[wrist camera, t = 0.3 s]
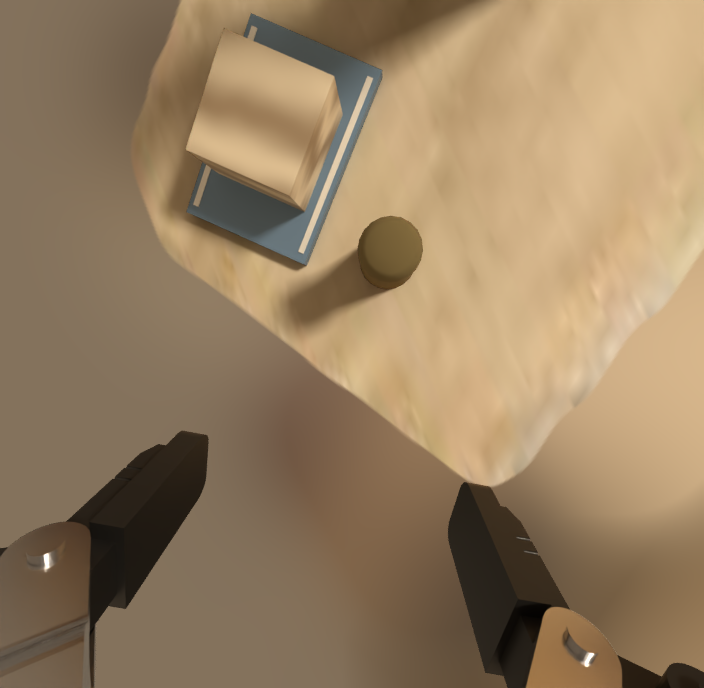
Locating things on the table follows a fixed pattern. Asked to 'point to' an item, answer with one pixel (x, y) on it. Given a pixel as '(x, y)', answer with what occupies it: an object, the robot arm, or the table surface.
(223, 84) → the maple pedestal
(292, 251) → the board
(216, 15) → the table surface
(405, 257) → the cork
